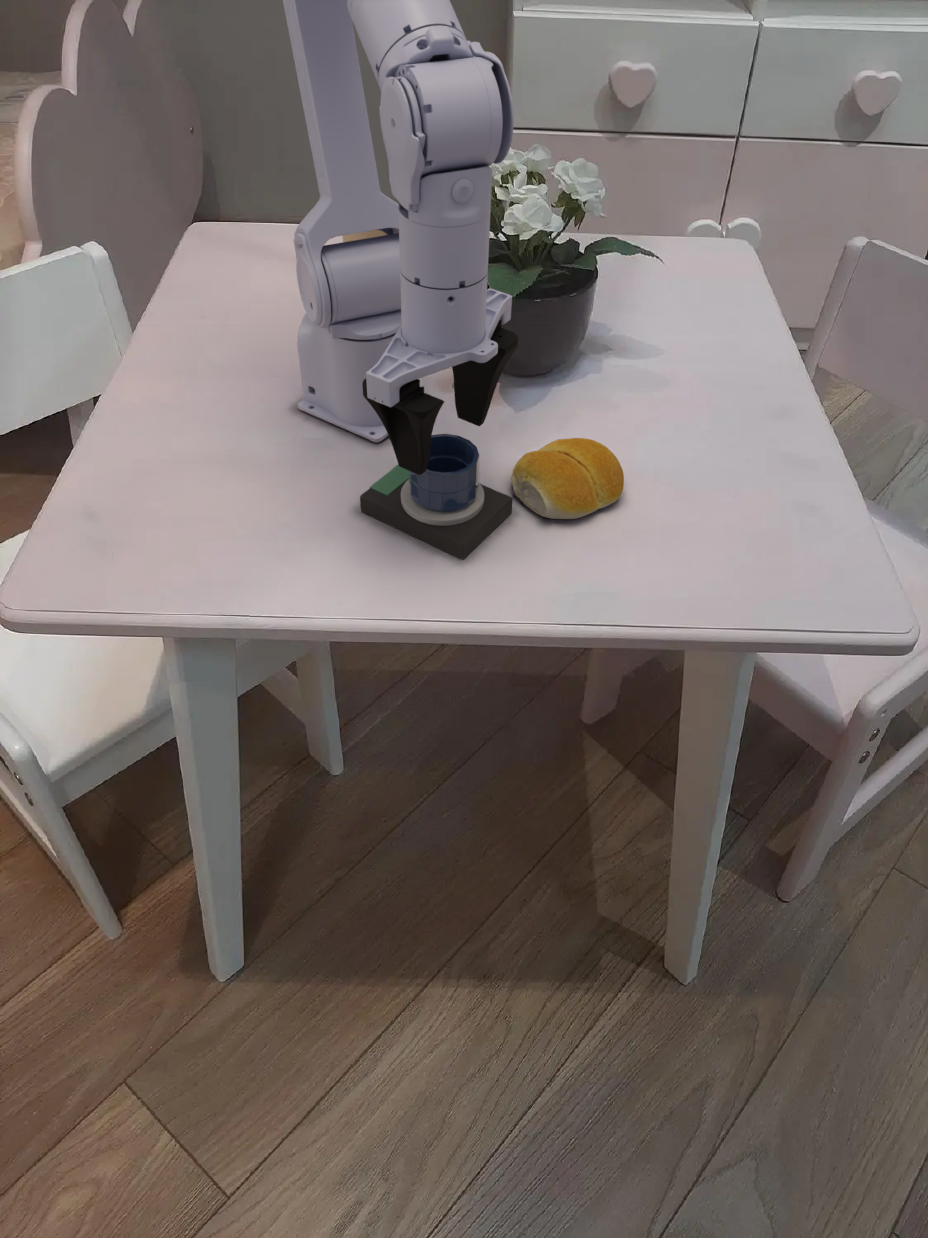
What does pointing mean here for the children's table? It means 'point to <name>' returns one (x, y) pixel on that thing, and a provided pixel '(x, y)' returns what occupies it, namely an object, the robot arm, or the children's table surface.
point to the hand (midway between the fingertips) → (442, 443)
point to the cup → (447, 474)
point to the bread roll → (568, 478)
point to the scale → (436, 514)
